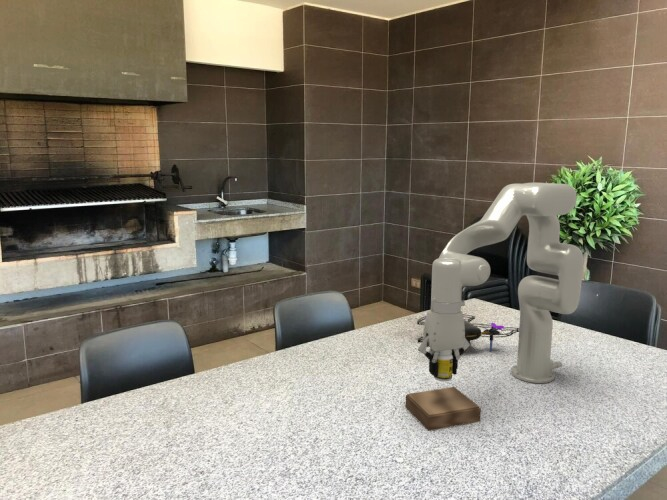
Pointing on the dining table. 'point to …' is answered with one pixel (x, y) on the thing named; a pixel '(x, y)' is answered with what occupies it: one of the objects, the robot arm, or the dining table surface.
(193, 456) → the dining table surface
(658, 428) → the dining table surface
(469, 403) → the walnut stand
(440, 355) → the supplement bottle
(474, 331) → the drone
